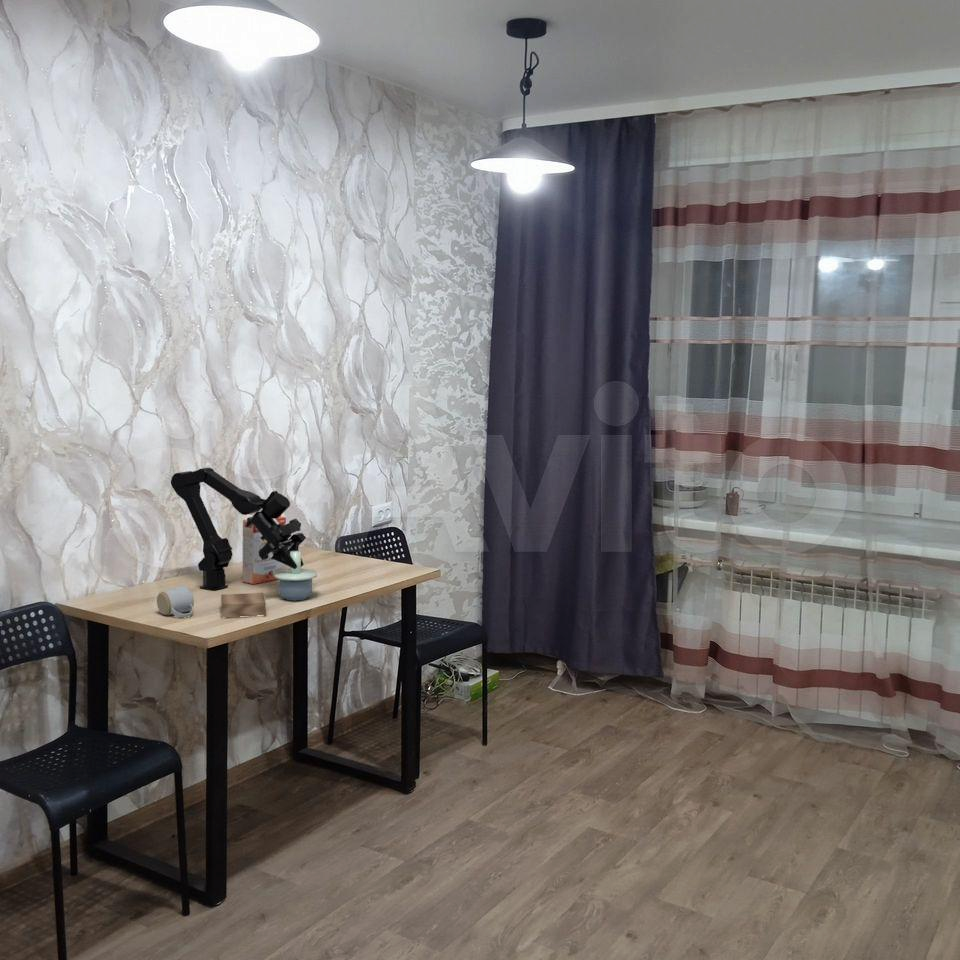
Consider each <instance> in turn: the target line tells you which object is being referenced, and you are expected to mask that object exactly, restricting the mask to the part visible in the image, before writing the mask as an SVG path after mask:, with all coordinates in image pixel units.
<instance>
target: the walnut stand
mask: <svg viewBox="0 0 960 960" xmlns="http://www.w3.org/2000/svg"><path fill="white" fill-rule="evenodd" d="M220 598H221V599H220V601H221V603H220V604H221V605H220V607H221V609H220V610H221V618H222V617H240V616H257V615H266V616H267V614H266V610H267V609H266V605H267V604H266V599H265V596H264V592H252V593H251V592H250V593H249V592H248V593H230V594H221V596H220Z"/></svg>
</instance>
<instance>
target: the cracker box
mask: <svg viewBox="0 0 960 960" xmlns="http://www.w3.org/2000/svg"><path fill="white" fill-rule="evenodd" d="M273 520H274V521H275V522H276V523H277V524H282V525H286V524H287V517H286V516H282V515H281V516H280V517H279V518H278V519H275V518H273ZM246 524H247V518H246V519H243V520H242V582H243V583H247V584H249V585H258V584H261V583H262V582H263V583H266V581H267V582H271V580H272V581H277V580H278V579H277V578H275V577H274V573H275V572H276V571H279V570H284V569H286V565H285V564H283V563H281V562H279V561H276V560H274V559H271V557H272V556H273V554H272V552H270V553H269V554H268V558H267V559H265V560H262V559H261V558H260V557H259V551H260V550H261V549H262V547H263V546H264V545H265V544H266V543H267V541H266V540H262V539H261V537H262V535H261V533H260V532H259V531H258V530H257V528H256V527H255V526H254V525H253V526H249V527H247V526H246ZM276 579H277V580H276ZM257 583H258V584H257Z"/></svg>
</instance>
